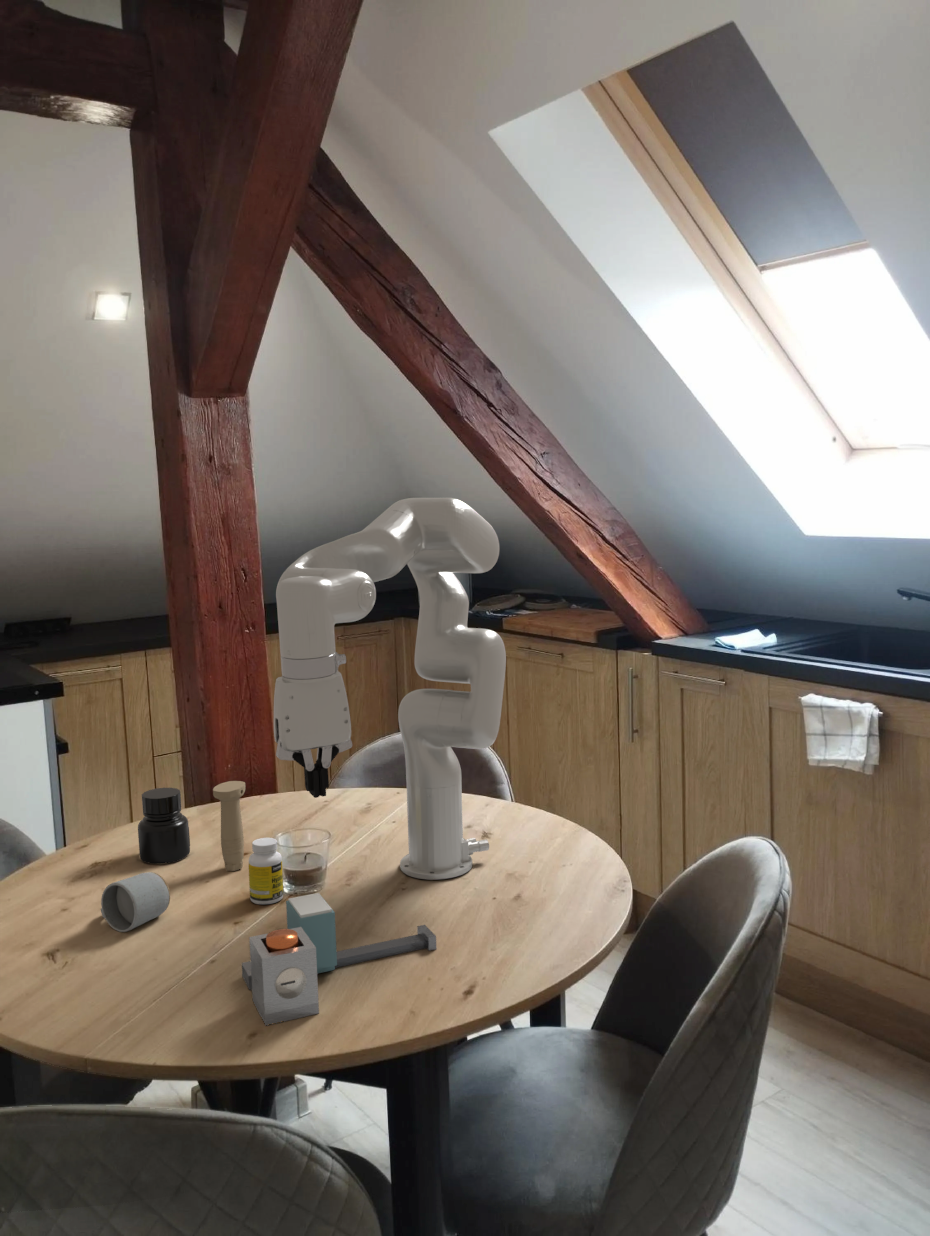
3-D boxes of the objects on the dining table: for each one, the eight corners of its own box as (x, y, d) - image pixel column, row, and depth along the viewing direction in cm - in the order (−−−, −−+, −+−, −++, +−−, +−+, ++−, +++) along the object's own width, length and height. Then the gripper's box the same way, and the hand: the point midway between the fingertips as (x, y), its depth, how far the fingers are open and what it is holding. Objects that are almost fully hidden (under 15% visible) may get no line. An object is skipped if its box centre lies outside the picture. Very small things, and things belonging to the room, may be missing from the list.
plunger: (295, 983, 144) (292, 926, 143) (303, 997, 140) (301, 938, 139) (266, 990, 142) (262, 932, 141) (273, 1003, 139) (270, 944, 138)
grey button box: (304, 990, 146) (301, 926, 145) (319, 1014, 140) (316, 948, 138) (252, 1001, 143) (249, 937, 142) (266, 1027, 137) (262, 960, 136)
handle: (212, 874, 189) (207, 790, 187) (231, 860, 195) (226, 780, 193) (237, 876, 187) (232, 792, 185) (255, 863, 193) (250, 782, 191)
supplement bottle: (276, 906, 174) (273, 848, 173) (245, 904, 175) (241, 846, 174) (288, 893, 179) (285, 836, 178) (257, 891, 181) (254, 835, 179)
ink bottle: (200, 849, 201) (196, 786, 200) (179, 866, 193) (175, 801, 191) (151, 847, 203) (147, 785, 201) (129, 864, 194) (124, 799, 193)
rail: (425, 937, 162) (424, 924, 161) (436, 949, 158) (436, 936, 157) (242, 976, 151) (241, 963, 150) (249, 990, 147) (248, 976, 146)
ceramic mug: (175, 916, 171) (171, 870, 170) (136, 936, 164) (132, 888, 163) (127, 906, 176) (123, 860, 175) (87, 925, 169) (83, 877, 168)
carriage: (322, 953, 157) (320, 891, 155) (337, 973, 150) (334, 909, 149) (289, 960, 155) (285, 898, 153) (302, 981, 148) (299, 916, 147)
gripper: (352, 655, 155) (359, 778, 159) (248, 668, 149) (258, 795, 153) (369, 665, 149) (376, 792, 152) (262, 679, 143) (272, 812, 146)
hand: (317, 794), depth 152 cm, fingers closed
